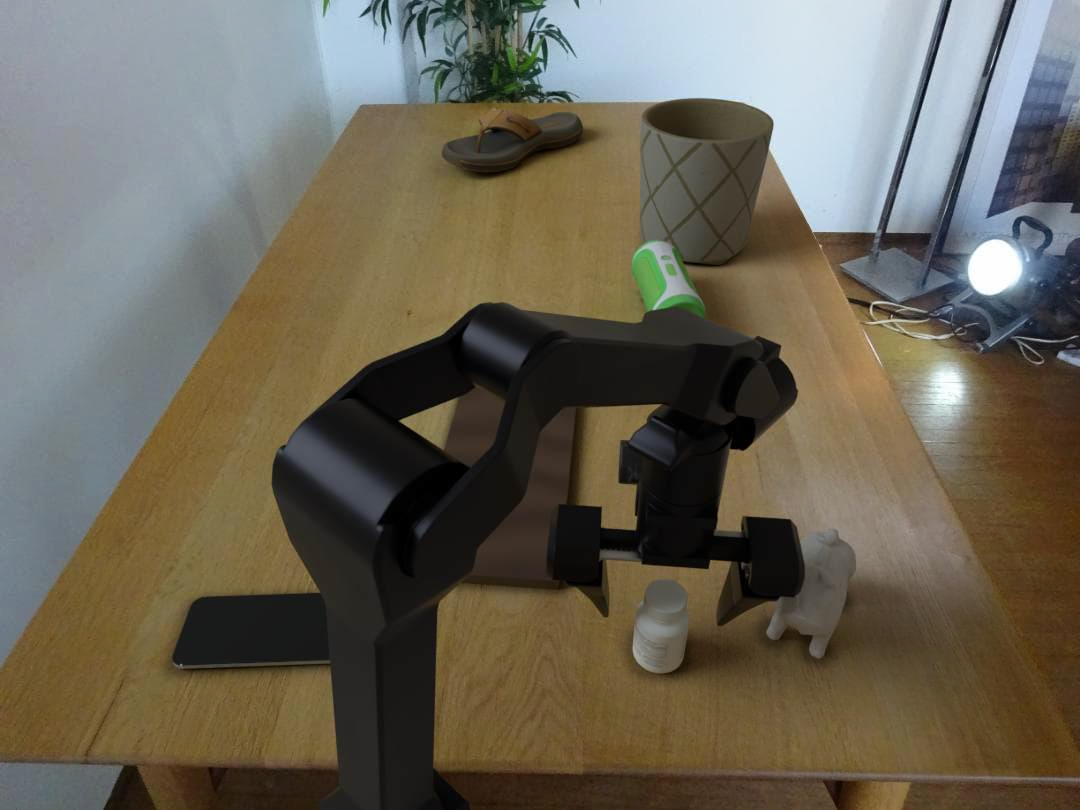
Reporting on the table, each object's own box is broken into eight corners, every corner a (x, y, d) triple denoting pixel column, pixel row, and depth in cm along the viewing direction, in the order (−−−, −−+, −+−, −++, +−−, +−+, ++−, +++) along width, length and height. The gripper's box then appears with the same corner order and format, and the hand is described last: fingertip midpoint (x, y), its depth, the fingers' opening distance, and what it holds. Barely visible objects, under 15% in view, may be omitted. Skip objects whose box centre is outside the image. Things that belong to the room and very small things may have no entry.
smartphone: (348, 659, 68) (168, 665, 68) (349, 664, 68) (170, 670, 68) (359, 590, 74) (193, 595, 73) (360, 595, 74) (195, 600, 74)
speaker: (627, 283, 120) (630, 236, 115) (675, 280, 120) (681, 234, 116) (650, 349, 106) (655, 299, 101) (705, 346, 106) (712, 296, 102)
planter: (739, 280, 120) (761, 149, 108) (617, 258, 126) (625, 131, 113) (761, 227, 134) (783, 105, 122) (650, 210, 140) (660, 92, 127)
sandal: (422, 164, 157) (418, 115, 151) (557, 125, 174) (558, 80, 168) (464, 186, 148) (461, 135, 143) (601, 142, 165) (603, 96, 160)
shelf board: (558, 589, 75) (558, 581, 74) (410, 579, 76) (408, 570, 75) (581, 348, 106) (582, 341, 105) (476, 343, 107) (476, 336, 106)
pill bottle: (665, 624, 72) (674, 566, 67) (693, 663, 68) (704, 605, 64) (622, 642, 70) (628, 584, 65) (649, 683, 67) (657, 625, 62)
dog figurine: (749, 668, 68) (770, 587, 61) (793, 566, 77) (815, 485, 70) (811, 697, 66) (840, 616, 59) (849, 588, 75) (878, 507, 68)
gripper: (799, 414, 62) (765, 551, 72) (558, 400, 64) (556, 536, 73) (826, 518, 53) (783, 658, 63) (545, 500, 55) (545, 639, 65)
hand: (662, 617), depth 66 cm, fingers open, 9 cm apart
